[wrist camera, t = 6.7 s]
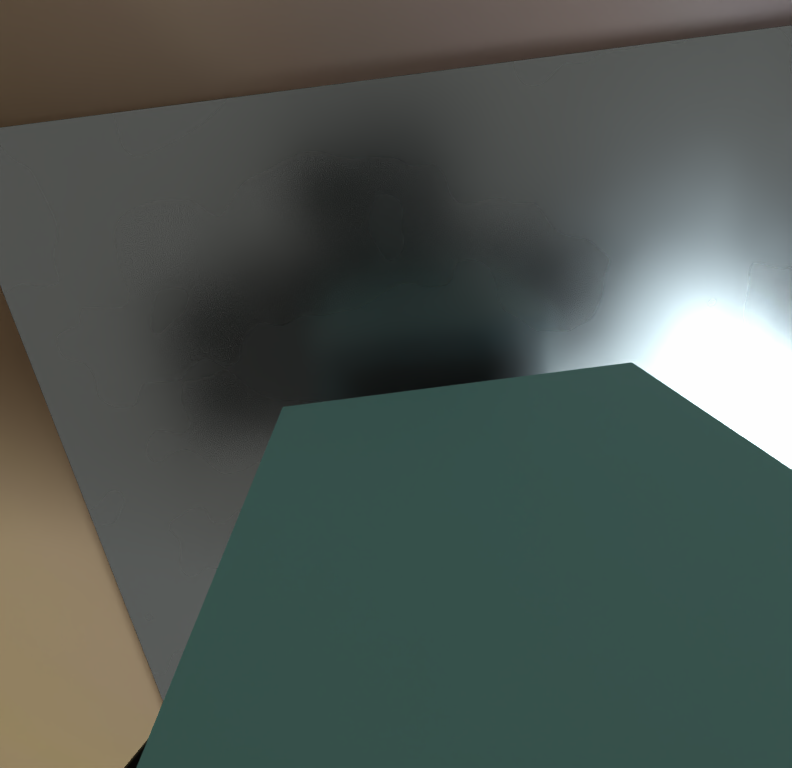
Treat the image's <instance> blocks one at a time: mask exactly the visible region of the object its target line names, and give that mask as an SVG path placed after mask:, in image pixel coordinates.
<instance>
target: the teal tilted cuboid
mask: <svg viewBox="0 0 792 768" xmlns="http://www.w3.org/2000/svg"><path fill="white" fill-rule="evenodd" d="M137 768H792V469H791V468H789V467H788V466H786V465H785V464H783V463H782V462H780V461H779V460H777V459H776V458H774V457H773V456H771V455H770V454H768V453H767V452H765V451H764V450H762V449H761V448H759V447H758V446H756V445H755V444H753V443H752V442H750V441H749V440H747V439H746V438H744V437H743V436H741V435H740V434H738V433H737V432H735V431H734V430H732V429H731V428H729V427H728V426H726V425H725V424H723V423H722V422H720V421H719V420H717V419H716V418H714V417H713V416H712V415H710V414H709V413H707V412H706V411H704V410H703V409H701V408H700V407H698V406H697V405H695V404H694V403H692V402H691V401H689V400H688V399H686V398H685V397H683V396H682V395H680V394H679V393H677V392H676V391H674V390H673V389H671V388H670V387H668V386H667V385H665V384H664V383H662V382H661V381H659V380H658V379H656V378H655V377H653V376H652V375H650V374H649V373H647V372H646V371H644V370H643V369H641V368H640V367H638V366H637V365H635V364H634V363H632V362H630V363H622V364H614V365H606V366H599V367H591V368H583V369H575V370H567V371H560V372H552V373H544V374H536V375H528V376H521V377H513V378H505V379H497V380H489V381H481V382H474V383H466V384H458V385H450V386H442V387H435V388H427V389H419V390H411V391H403V392H396V393H388V394H380V395H372V396H364V397H356V398H349V399H341V400H333V401H325V402H317V403H310V404H302V405H294V406H286V407H283V408H282V410H281V413H280V415H279V418H278V420H277V422H276V425H275V427H274V430H273V432H272V435H271V437H270V440H269V442H268V445H267V447H266V450H265V452H264V455H263V457H262V459H261V462H260V464H259V467H258V469H257V472H256V474H255V477H254V479H253V482H252V484H251V487H250V489H249V492H248V494H247V496H246V499H245V501H244V504H243V506H242V509H241V511H240V514H239V516H238V519H237V521H236V524H235V526H234V529H233V531H232V533H231V536H230V538H229V541H228V543H227V546H226V548H225V551H224V553H223V556H222V558H221V561H220V563H219V566H218V568H217V570H216V573H215V575H214V578H213V580H212V583H211V585H210V588H209V590H208V593H207V595H206V598H205V600H204V603H203V605H202V607H201V610H200V612H199V615H198V617H197V620H196V622H195V625H194V627H193V630H192V632H191V635H190V637H189V640H188V642H187V644H186V647H185V649H184V652H183V654H182V657H181V659H180V662H179V664H178V667H177V669H176V672H175V674H174V677H173V679H172V681H171V684H170V686H169V689H168V691H167V694H166V696H165V699H164V701H163V704H162V706H161V709H160V711H159V714H158V716H157V718H156V721H155V723H154V726H153V728H152V731H151V733H150V736H149V738H148V741H147V743H146V746H145V748H144V751H143V753H142V755H141V758H140V760H139V763H138V765H137Z"/></svg>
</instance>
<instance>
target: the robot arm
mask: <svg viewBox="0 0 792 768" xmlns="http://www.w3.org/2000/svg"><path fill="white" fill-rule="evenodd" d="M147 741H148V740H147ZM147 741H146V742H145V743H144V744H143V746H142V747H141V748H140V749H139V750H138V752H137V753H136V754H135V755H134V756H133V758H132V759H131V760H130V761H129V762H128V764H127V765H126V766H125V767H124V768H137V765H138V763H139V760H140V758H141V755H142V753H143V751H144V748H145V746H146V743H147Z"/></svg>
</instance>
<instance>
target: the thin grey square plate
mask: <svg viewBox="0 0 792 768" xmlns="http://www.w3.org/2000/svg"><path fill="white" fill-rule="evenodd" d="M0 286H1V288H2V291H3V294H4V296H5V299H6V301H7V304H8V306H9V309H10V311H11V314H12V317H13V319H14V322H15V324H16V327H17V329H18V332H19V334H20V337H21V339H22V342H23V345H24V347H25V350H26V352H27V355H28V357H29V360H30V362H31V365H32V368H33V370H34V373H35V375H36V378H37V380H38V383H39V385H40V388H41V391H42V393H43V396H44V398H45V401H46V403H47V406H48V408H49V411H50V414H51V416H52V419H53V421H54V424H55V426H56V429H57V431H58V434H59V436H60V439H61V442H62V444H63V447H64V449H65V452H66V454H67V457H68V459H69V462H70V465H71V467H72V470H73V472H74V475H75V477H76V480H77V482H78V485H79V488H80V490H81V493H82V495H83V498H84V500H85V503H86V505H87V508H88V511H89V513H90V516H91V518H92V521H93V523H94V526H95V528H96V531H97V533H98V536H99V539H100V541H101V544H102V546H103V549H104V551H105V554H106V556H107V559H108V562H109V564H110V567H111V569H112V572H113V574H114V577H115V579H116V582H117V585H118V587H119V590H120V592H121V595H122V597H123V600H124V602H125V605H126V608H127V610H128V613H129V615H130V618H131V620H132V623H133V625H134V628H135V630H136V633H137V636H138V638H139V641H140V643H141V646H142V648H143V651H144V653H145V656H146V659H147V661H148V664H149V666H150V669H151V671H152V674H153V676H154V679H155V682H156V684H157V687H158V689H159V692H160V694H161V697H162V699H163V701H164V699H165V696H166V694H167V691H168V689H169V686H170V684H171V681H172V679H173V677H174V674H175V672H176V669H177V667H178V664H179V662H180V659H181V657H182V654H183V652H184V649H185V647H186V644H187V642H188V640H189V637H190V635H191V632H192V630H193V627H194V625H195V622H196V620H197V617H198V615H199V612H200V610H201V607H202V605H203V603H204V600H205V598H206V595H207V593H208V590H209V588H210V585H211V583H212V580H213V578H214V575H215V573H216V570H217V568H218V566H219V563H220V561H221V558H222V556H223V553H224V551H225V548H226V546H227V543H228V541H229V538H230V536H231V533H232V531H233V529H234V526H235V524H236V521H237V519H238V516H239V514H240V511H241V509H242V506H243V504H244V501H245V499H246V496H247V494H248V492H249V489H250V487H251V484H252V482H253V479H254V477H255V474H256V472H257V469H258V467H259V464H260V462H261V459H262V457H263V455H264V452H265V450H266V447H267V445H268V442H269V440H270V437H271V435H272V432H273V430H274V427H275V425H276V422H277V420H278V418H279V415H280V413H281V410H282V408H283V407H286V406H294V405H302V404H310V403H317V402H325V401H333V400H341V399H349V398H356V397H364V396H372V395H380V394H388V393H396V392H403V391H411V390H419V389H427V388H435V387H442V386H450V385H458V384H466V383H474V382H481V381H489V380H497V379H505V378H513V377H521V376H528V375H536V374H544V373H552V372H560V371H567V370H575V369H583V368H591V367H599V366H606V365H614V364H622V363H630V362H632V363H634V364H635V365H637V366H638V367H640V368H641V369H643V370H644V371H646V372H647V373H649V374H650V375H652V376H653V377H655V378H656V379H658V380H659V381H661V382H662V383H664V384H665V385H667V386H668V387H670V388H671V389H673V390H674V391H676V392H677V393H679V394H680V395H682V396H683V397H685V398H686V399H688V400H689V401H691V402H692V403H694V404H695V405H697V406H698V407H700V408H701V409H703V410H704V411H706V412H707V413H709V414H710V415H712V416H713V417H714V418H716V419H717V420H719V421H720V422H722V423H723V424H725V425H726V426H728V427H729V428H731V429H732V430H734V431H735V432H737V433H738V434H740V435H741V436H743V437H744V438H746V439H747V440H749V441H750V442H752V443H753V444H755V445H756V446H758V447H759V448H761V449H762V450H764V451H765V452H767V453H768V454H770V455H771V456H773V457H774V458H776V459H777V460H779V461H780V462H782V463H783V464H785V465H786V466H788V467H789V468H791V469H792V25H790V26H782V27H774V28H767V29H759V30H751V31H743V32H736V33H728V34H720V35H712V36H705V37H697V38H689V39H682V40H674V41H666V42H658V43H651V44H643V45H635V46H627V47H620V48H612V49H604V50H596V51H589V52H581V53H573V54H566V55H558V56H550V57H542V58H535V59H527V60H519V61H511V62H504V63H496V64H488V65H481V66H473V67H465V68H457V69H450V70H442V71H434V72H426V73H419V74H411V75H403V76H396V77H388V78H380V79H372V80H365V81H357V82H349V83H341V84H334V85H326V86H318V87H310V88H303V89H295V90H287V91H280V92H272V93H264V94H256V95H249V96H241V97H233V98H225V99H218V100H210V101H202V102H195V103H187V104H179V105H171V106H164V107H156V108H148V109H140V110H133V111H125V112H117V113H110V114H102V115H94V116H86V117H79V118H71V119H63V120H55V121H48V122H40V123H32V124H24V125H17V126H9V127H1V128H0Z"/></svg>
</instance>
